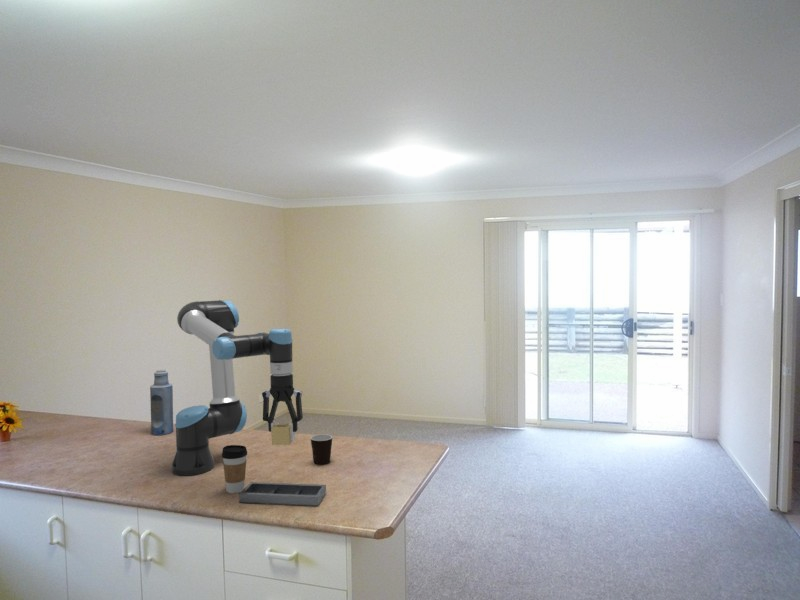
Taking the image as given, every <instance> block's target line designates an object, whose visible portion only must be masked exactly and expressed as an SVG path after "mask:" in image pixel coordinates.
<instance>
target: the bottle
mask: <svg viewBox="0 0 800 600" xmlns="http://www.w3.org/2000/svg"><path fill="white" fill-rule="evenodd" d="M153 376H154V380H153V384H152V385H150V387H149V389H150V391H149V392H150V394H149V395H150V396H149V398H150V400H149V401H150V421H151V422H150V423H151V424H150V427H151V428H150V429H151V433H150V434H151V435H153V436H163V435H164V436H165V435H169V434H171V433H173V432H174V406H173V405H174V398H173V396H174V395H173V392H174V391H173V384H172V383H170V382H169V372H168V371H167V370H166V369H157V370H156V371H155V372H154V373H153Z"/></svg>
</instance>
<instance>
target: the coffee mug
mask: <svg viewBox="0 0 800 600" xmlns="http://www.w3.org/2000/svg"><path fill="white" fill-rule="evenodd" d="M310 443H311V444H310V445H311V452H312V460H313V461H312V462H313V464H314V465H316V466H325V465H328V464H330V463H331V458H332V456H331V455H332V447H333V446H332V445H333V436H332V435H330V434H328V433H326V434H325V433H324V434H323V433H322V434H315V435H312V436H311V437H310Z"/></svg>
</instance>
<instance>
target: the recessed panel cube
mask: <svg viewBox="0 0 800 600" xmlns="http://www.w3.org/2000/svg"><path fill="white" fill-rule="evenodd" d="M290 423H291V422H276V424H275V425H274V426H272V427H271V428H272V441H271V445H272V446H273V445H274V446H277V445H278V446H279V445H280V446H290V445H291V444H292V443H293V442H291V435H290Z"/></svg>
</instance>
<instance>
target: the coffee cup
mask: <svg viewBox="0 0 800 600" xmlns="http://www.w3.org/2000/svg"><path fill="white" fill-rule="evenodd" d="M247 455H248V451H247V447H246V446H245V445H240V444H238V445H237V444H229V445H226V446H223V447H222V452H221V457H222V459H223V462H222V464H223V465H222V466H223V473H224V481H225V489H226V493H228V494H238V493H240V492H242V491H243V490H244V489H245V485H246V484H245V482H246V471H247V470H246V469H247Z"/></svg>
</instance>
